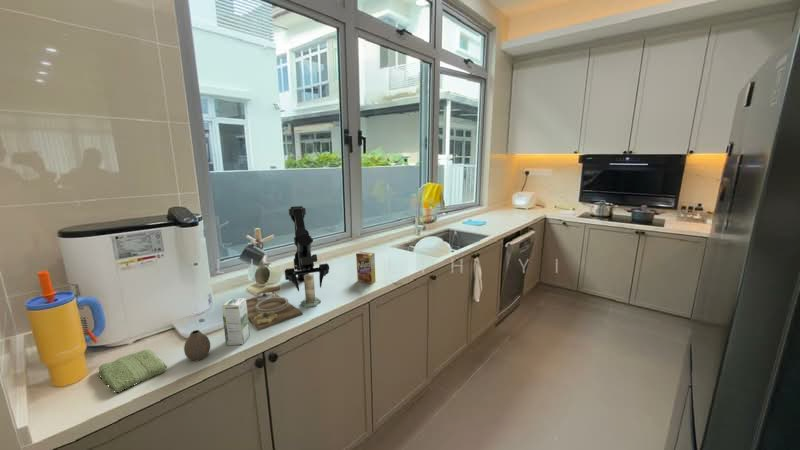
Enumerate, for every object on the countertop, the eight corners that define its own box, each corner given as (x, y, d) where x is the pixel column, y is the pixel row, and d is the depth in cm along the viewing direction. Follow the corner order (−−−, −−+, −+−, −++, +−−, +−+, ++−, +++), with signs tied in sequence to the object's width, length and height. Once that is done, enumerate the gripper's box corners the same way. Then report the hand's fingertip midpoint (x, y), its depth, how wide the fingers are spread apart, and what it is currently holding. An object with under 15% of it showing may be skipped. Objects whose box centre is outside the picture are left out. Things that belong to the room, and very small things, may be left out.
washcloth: (150, 352, 101) (148, 343, 101) (170, 372, 91) (168, 362, 91) (95, 374, 91) (93, 364, 90) (111, 399, 81) (109, 388, 80)
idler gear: (298, 303, 135) (295, 275, 132) (314, 297, 140) (312, 270, 137) (307, 309, 129) (304, 280, 126) (323, 303, 134) (321, 275, 131)
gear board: (234, 305, 134) (233, 298, 133) (273, 293, 145) (272, 287, 145) (258, 330, 113) (258, 322, 112) (302, 314, 124) (301, 307, 124)
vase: (216, 352, 99) (213, 328, 98) (196, 365, 93) (192, 339, 91) (201, 349, 102) (197, 324, 100) (180, 361, 95) (176, 335, 94)
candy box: (356, 281, 159) (355, 253, 156) (361, 278, 163) (360, 251, 160) (371, 284, 155) (370, 255, 152) (375, 281, 159) (374, 252, 156)
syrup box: (233, 336, 109) (228, 298, 106) (250, 335, 109) (246, 297, 106) (226, 346, 103) (220, 305, 100) (244, 344, 104) (238, 304, 101)
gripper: (282, 251, 130) (286, 284, 122) (327, 246, 137) (333, 277, 129) (283, 263, 139) (287, 295, 131) (325, 258, 146) (331, 288, 138)
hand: (309, 289), depth 132 cm, fingers open, 9 cm apart
